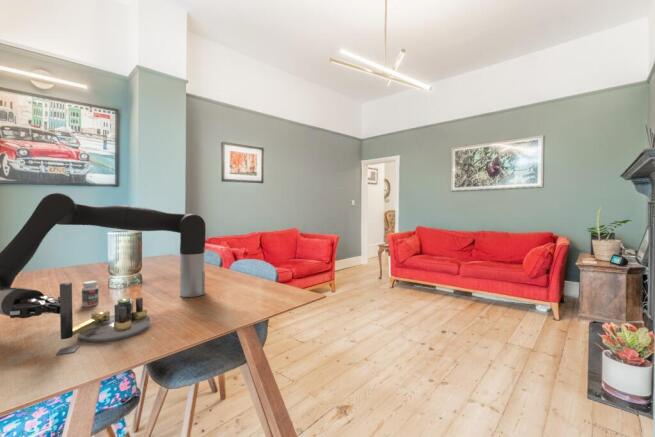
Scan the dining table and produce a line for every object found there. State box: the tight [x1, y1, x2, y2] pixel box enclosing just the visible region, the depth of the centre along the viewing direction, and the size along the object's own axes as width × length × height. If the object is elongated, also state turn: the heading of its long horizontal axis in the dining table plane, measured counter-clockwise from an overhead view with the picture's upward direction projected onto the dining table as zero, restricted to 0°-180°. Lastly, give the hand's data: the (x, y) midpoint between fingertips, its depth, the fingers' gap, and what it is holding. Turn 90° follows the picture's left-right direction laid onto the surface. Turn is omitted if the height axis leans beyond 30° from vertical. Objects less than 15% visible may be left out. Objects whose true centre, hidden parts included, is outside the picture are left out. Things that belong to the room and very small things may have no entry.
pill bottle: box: [81, 280, 100, 308], centre depth 109 cm, size 5×5×8 cm
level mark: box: [55, 344, 80, 356], centre depth 75 cm, size 4×4×1 cm
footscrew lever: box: [59, 282, 111, 340], centre depth 84 cm, size 15×4×14 cm, turn 1°
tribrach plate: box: [78, 297, 151, 344], centre depth 88 cm, size 17×17×9 cm
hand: (63, 309), depth 78 cm, fingers closed
